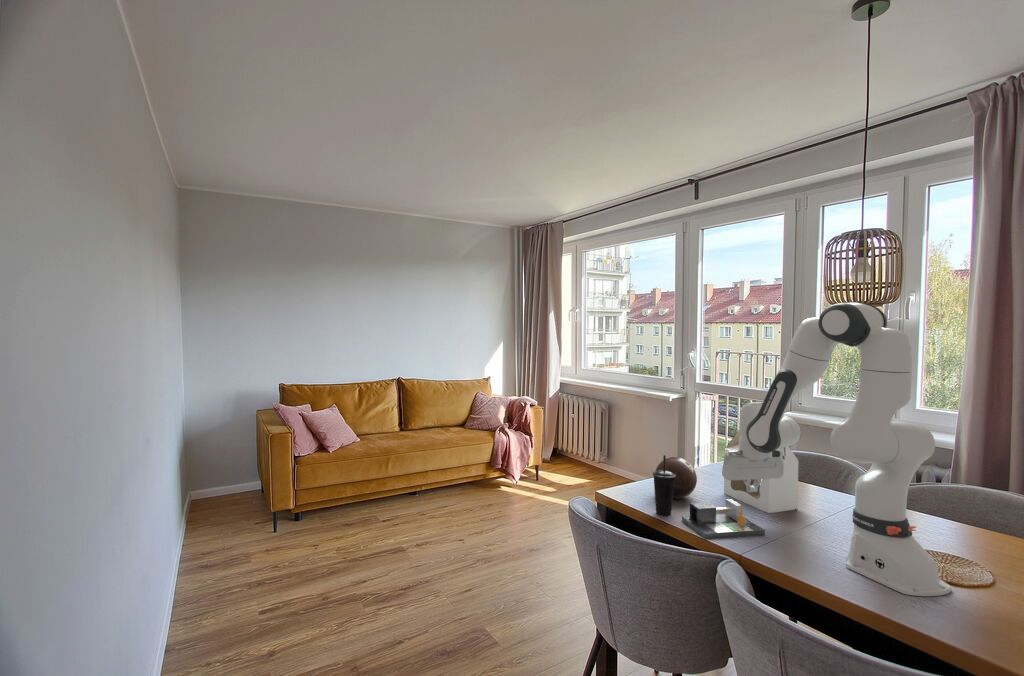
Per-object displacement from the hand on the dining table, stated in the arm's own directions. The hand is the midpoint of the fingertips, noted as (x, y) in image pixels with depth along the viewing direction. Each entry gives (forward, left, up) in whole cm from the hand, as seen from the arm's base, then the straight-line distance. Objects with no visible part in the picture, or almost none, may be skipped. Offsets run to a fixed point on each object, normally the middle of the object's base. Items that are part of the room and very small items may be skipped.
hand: (751, 491), depth 165 cm
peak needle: (-7, +8, -8) cm, 13 cm away
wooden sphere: (+25, +14, -10) cm, 31 cm away
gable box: (+17, -15, -10) cm, 25 cm away
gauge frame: (-4, +13, -10) cm, 16 cm away
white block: (-2, +11, -8) cm, 14 cm away
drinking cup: (+10, +26, -10) cm, 30 cm away
